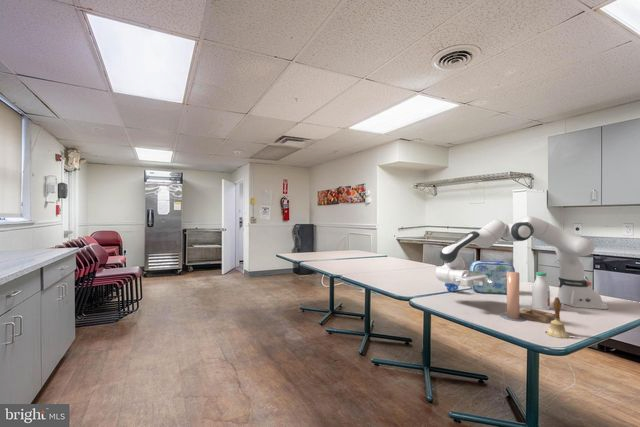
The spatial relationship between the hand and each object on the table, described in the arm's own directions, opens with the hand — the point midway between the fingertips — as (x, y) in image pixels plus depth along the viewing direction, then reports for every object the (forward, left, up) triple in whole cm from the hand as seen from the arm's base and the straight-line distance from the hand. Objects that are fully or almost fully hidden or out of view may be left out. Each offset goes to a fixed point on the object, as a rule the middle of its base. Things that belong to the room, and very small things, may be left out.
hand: (487, 282), depth 160 cm
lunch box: (-3, -50, -16) cm, 52 cm away
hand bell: (-26, +19, -16) cm, 36 cm away
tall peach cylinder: (-11, +5, -15) cm, 19 cm away
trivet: (-11, +6, -16) cm, 20 cm away
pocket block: (-21, 0, -16) cm, 26 cm away
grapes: (+19, -38, -16) cm, 46 cm away
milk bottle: (-26, -20, -16) cm, 37 cm away
